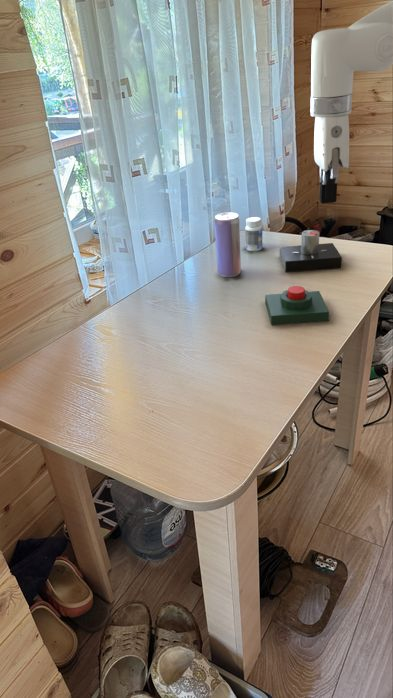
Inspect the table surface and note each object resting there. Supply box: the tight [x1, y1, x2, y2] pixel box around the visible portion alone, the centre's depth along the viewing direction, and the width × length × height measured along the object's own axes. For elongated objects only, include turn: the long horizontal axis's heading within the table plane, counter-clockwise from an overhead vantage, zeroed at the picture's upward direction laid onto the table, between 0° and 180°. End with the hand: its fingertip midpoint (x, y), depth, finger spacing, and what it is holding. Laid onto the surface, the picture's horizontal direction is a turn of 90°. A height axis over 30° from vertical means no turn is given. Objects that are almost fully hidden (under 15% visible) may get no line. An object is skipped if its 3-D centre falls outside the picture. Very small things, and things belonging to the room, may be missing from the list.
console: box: [279, 242, 343, 273], centre depth 133 cm, size 14×10×3 cm
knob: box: [300, 229, 321, 255], centre depth 130 cm, size 4×4×5 cm
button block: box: [264, 289, 330, 326], centre depth 111 cm, size 12×10×4 cm
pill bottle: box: [244, 216, 263, 252], centre depth 143 cm, size 5×5×8 cm
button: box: [287, 285, 306, 300], centre depth 109 cm, size 4×4×2 cm
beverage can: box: [214, 211, 242, 279], centre depth 128 cm, size 6×6×15 cm
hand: (327, 201), depth 107 cm, fingers closed
